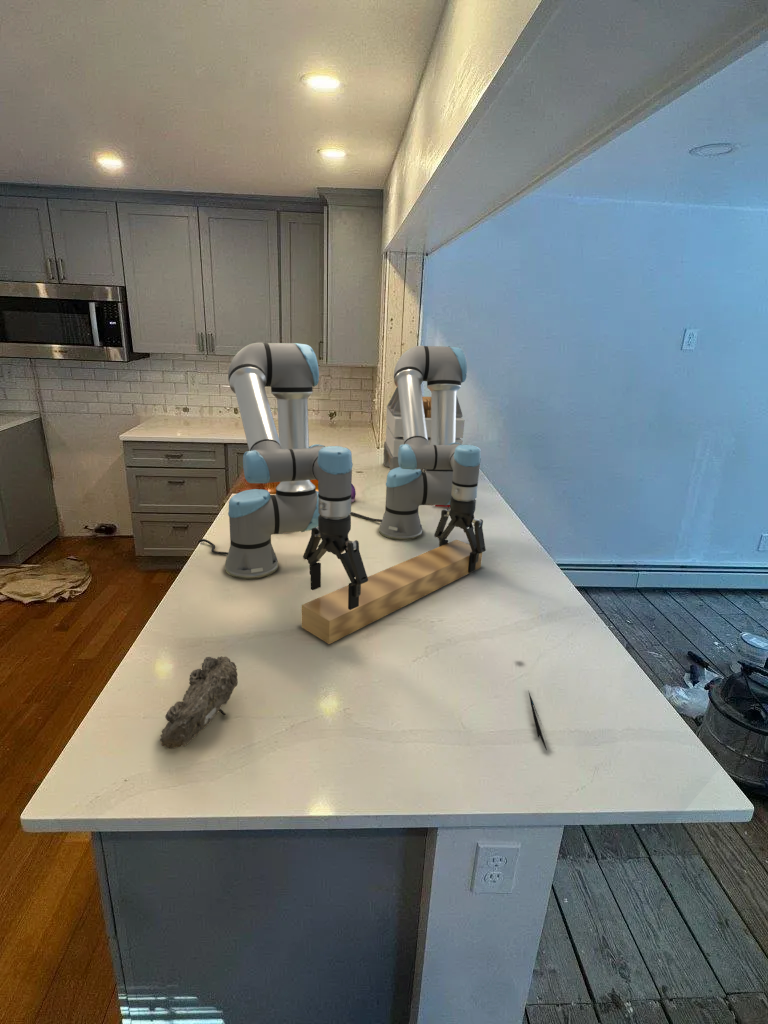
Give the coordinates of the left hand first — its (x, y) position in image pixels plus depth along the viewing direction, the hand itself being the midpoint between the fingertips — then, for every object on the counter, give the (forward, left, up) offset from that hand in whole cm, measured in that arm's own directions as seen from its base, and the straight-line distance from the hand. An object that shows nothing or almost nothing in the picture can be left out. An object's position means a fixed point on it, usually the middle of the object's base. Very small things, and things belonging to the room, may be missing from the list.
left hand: (333, 597), depth 137 cm
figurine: (-76, +60, -8) cm, 97 cm away
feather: (+47, +15, -8) cm, 51 cm away
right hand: (-6, +51, -8) cm, 52 cm away
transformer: (-89, +116, -8) cm, 147 cm away
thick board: (-3, +26, -8) cm, 27 cm away
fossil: (+10, -38, -8) cm, 40 cm away
